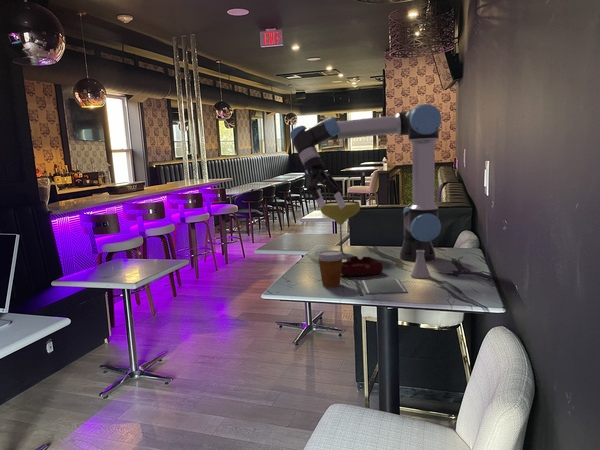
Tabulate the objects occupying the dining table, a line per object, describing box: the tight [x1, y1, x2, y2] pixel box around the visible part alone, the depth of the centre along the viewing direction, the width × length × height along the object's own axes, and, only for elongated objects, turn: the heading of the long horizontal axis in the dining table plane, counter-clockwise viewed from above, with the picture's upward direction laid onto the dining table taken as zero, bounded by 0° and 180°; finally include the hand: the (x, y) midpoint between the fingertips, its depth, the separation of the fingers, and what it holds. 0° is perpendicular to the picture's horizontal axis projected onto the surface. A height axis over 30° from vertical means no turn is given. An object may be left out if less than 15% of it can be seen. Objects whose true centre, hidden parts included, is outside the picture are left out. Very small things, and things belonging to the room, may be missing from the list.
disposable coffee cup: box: [316, 249, 344, 288], centre depth 167 cm, size 10×10×12 cm
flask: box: [410, 250, 431, 279], centre depth 173 cm, size 7×7×10 cm
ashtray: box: [341, 255, 384, 277], centre depth 183 cm, size 18×16×5 cm
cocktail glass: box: [319, 200, 361, 260], centre depth 212 cm, size 18×18×25 cm
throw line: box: [354, 279, 364, 297], centre depth 162 cm, size 1×19×1 cm, turn 179°
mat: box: [360, 278, 409, 295], centre depth 162 cm, size 14×16×1 cm
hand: (333, 207), depth 177 cm, fingers open, 13 cm apart
